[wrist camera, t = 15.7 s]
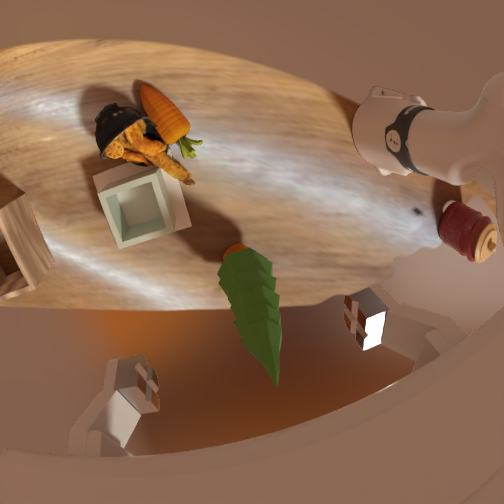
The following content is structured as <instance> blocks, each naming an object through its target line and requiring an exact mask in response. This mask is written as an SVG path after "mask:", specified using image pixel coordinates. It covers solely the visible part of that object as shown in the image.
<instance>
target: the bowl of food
mask: <svg viewBox="0 0 504 504" xmlns="http://www.w3.org/2000/svg"><path fill="white" fill-rule="evenodd" d="M149 121H150V118H149V117H148V116H144V115H142V114H141V113H140V112H138V111H137V110H135V109H133V108H130V107H119V106H117V104H116V103H114V104H110V105H107V106H105V107H104V108H103V110H102V111H101V112H100V113H99V115H98V116H97V117H96V119H95V122H96V123H97V125H96V132H95V136H96V142H97V145H98V147H99V149H100V152H101V153H100V157H101V159H107V158H109V157H110V158H113V159H117V158H119V157H122V158H123V159H126V160H127V161H128V162H131V163H133V164H135V165H138V166H144V167H148V166H151V167H154V165H156V166H158V167H159V168H161V169H163V170H164V171H165V172H166V173H168V174H169V175H171V176H172V177H173V178H175V179H178V180H180V181H182V182H183V183H184V184H186V185H194V184H195V182H196V180H195V179H194V178H193V177H192V176H191V174H189V173H188V171H187V170H184V169H183V167H182V166H181V165H179V164H178V163H176V162H174V161H173V160H171V159H170V158H169V157H168V156H167V152H168V150H169V144H166V143H165V142H164V141H163V140H162V139H161V137H160V136H159V134H158V133H157V131H156V129H155V127H157V125H156V124H154V123H151V122H149Z"/></svg>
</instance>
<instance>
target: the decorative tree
mask: <svg viewBox="0 0 504 504" xmlns="http://www.w3.org/2000/svg"><path fill="white" fill-rule="evenodd" d="M222 258H223V263H222V265H221V267H220V269H219V271H218V276H219V277H220V281H219V285H220V286H221V288H222V289H223V291H224V292H225V293H226V295H227V296H228V300H229V302H230V304H231V305H232V306H231V307H230V308H231V309H232V310H233V312H234V314H235V315H236V317H237V318H236V320H235V322H234V324H235V325H236V327H237V328H238V330H239V332H240V333H241V335H242V339H241V342H242V343H243V344H244V345H245V346H246V347H247V349H248V350H249V351H250V352H251V353H252V354H253V355H254V356H255V357H256V358H257V359H258V360H259V361H260V363H261V364H262V365H263V367H264V368H265V369H266V371H267V372H268V374H269V375H270V377H271V379H272V381H273V382H274V384H275V386H276V388H277V385H278V378H279V352H280V347H281V337H282V326H280V312H278V311H279V297H280V295H278V294H277V293H275V289H276V278H275V277H273V276H272V262H270V261H269V260H267V258H265V257H264V256H262V255H260V254H259V253H257V252H256V251H254V250H253V249H251V248H248V247H246V246H245V245H243V244H242V243H240V242H239V243H237V244H235V245H233V246H231V247H229V248H228V249H227V250H226V252H225V253H224V255H223V256H222Z"/></svg>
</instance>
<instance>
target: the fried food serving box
mask: <svg viewBox="0 0 504 504" xmlns="http://www.w3.org/2000/svg"><path fill="white" fill-rule="evenodd" d="M0 228H1V230H2V232H3V235H4V237H5V239H6V242H7V244H8V246H9V248H10V250H11V252H12V254H13V256H14V258H15V260H16V262H17V264H18V266H19V268H20V270H19V271H17V272H14V273H12V274H10V275H7V276H6V274H5V272H4V271H3V269H2V267H1V265H0V302H1V301H4V300H6V299H9V298H12V297H15V296H18V295H20V294H23V293H26V292H29V291H32V290H35V289H36V288H37V286H38V285H39V283H40V282H41V280H42V279H43V277H44V276H45V274H46V273H47V271H48V270H49V269H50V267H51V266H52V264H53V263H54V262H55V261H54V259H53V257H52V255H51V253H50V251H49V249H48V246H47V244H46V242H45V240H44V238H43V236H42V233H41V231H40V229H39V226H38V224H37V222H36V219H35V217H34V214H33V212H32V209H31V206H30V204H29V201H28V198H27V196H26V193H25V194H23V195H21V196H20V197H18V198H16V199H15V200H13V201H11V202H9V203H8V204H6V205H5V206H3V207H1V208H0Z"/></svg>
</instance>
